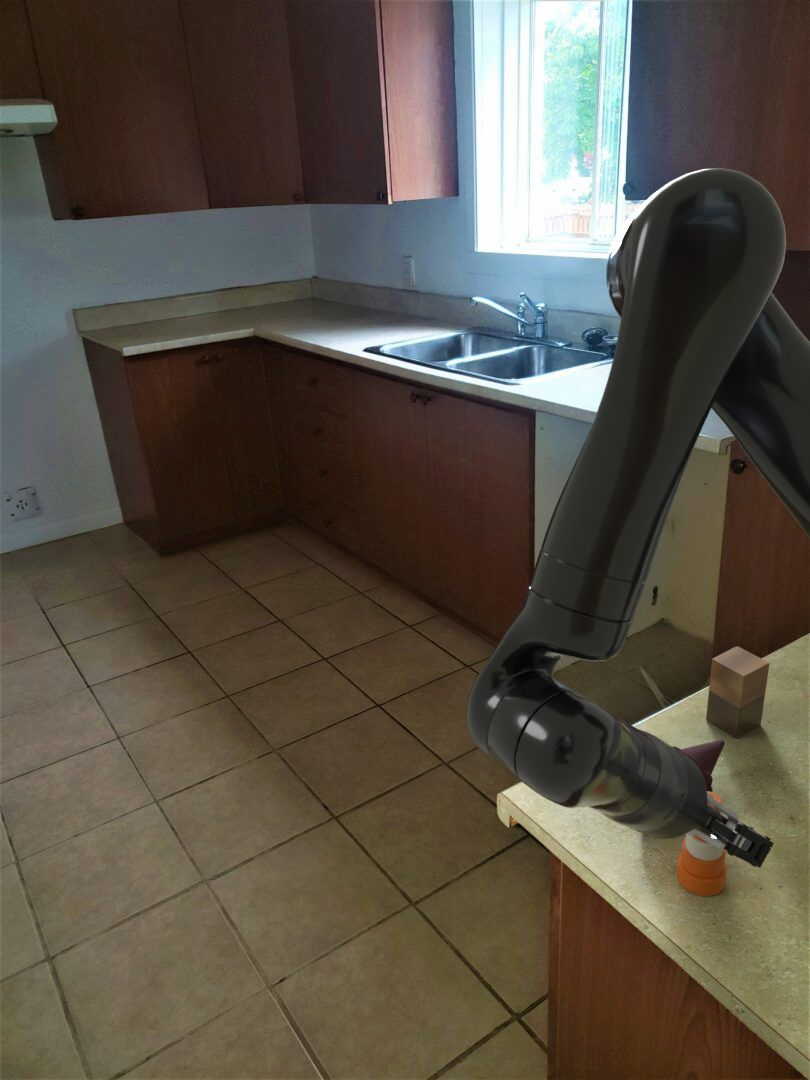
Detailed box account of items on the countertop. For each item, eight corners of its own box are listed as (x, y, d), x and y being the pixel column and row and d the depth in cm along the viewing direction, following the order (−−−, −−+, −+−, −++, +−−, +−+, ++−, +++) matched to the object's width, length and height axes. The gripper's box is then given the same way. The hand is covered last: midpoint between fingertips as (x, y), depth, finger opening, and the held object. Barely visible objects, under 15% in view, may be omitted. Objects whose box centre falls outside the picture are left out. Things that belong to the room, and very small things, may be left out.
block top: (765, 694, 97) (769, 662, 95) (740, 708, 95) (744, 676, 93) (733, 676, 100) (737, 645, 98) (708, 689, 98) (711, 658, 96)
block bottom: (761, 724, 99) (765, 694, 97) (736, 739, 97) (740, 708, 95) (730, 706, 102) (733, 676, 100) (705, 719, 100) (708, 689, 98)
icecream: (689, 705, 93) (599, 774, 86) (747, 723, 87) (655, 798, 80) (701, 757, 95) (614, 828, 88) (758, 778, 89) (669, 856, 82)
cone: (734, 881, 79) (745, 803, 74) (703, 903, 77) (712, 824, 72) (698, 853, 82) (706, 776, 78) (667, 873, 80) (673, 795, 76)
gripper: (743, 788, 61) (806, 827, 72) (597, 702, 72) (671, 747, 83) (694, 876, 61) (764, 902, 72) (554, 776, 71) (634, 812, 82)
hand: (714, 819), depth 77 cm, fingers open, 8 cm apart
